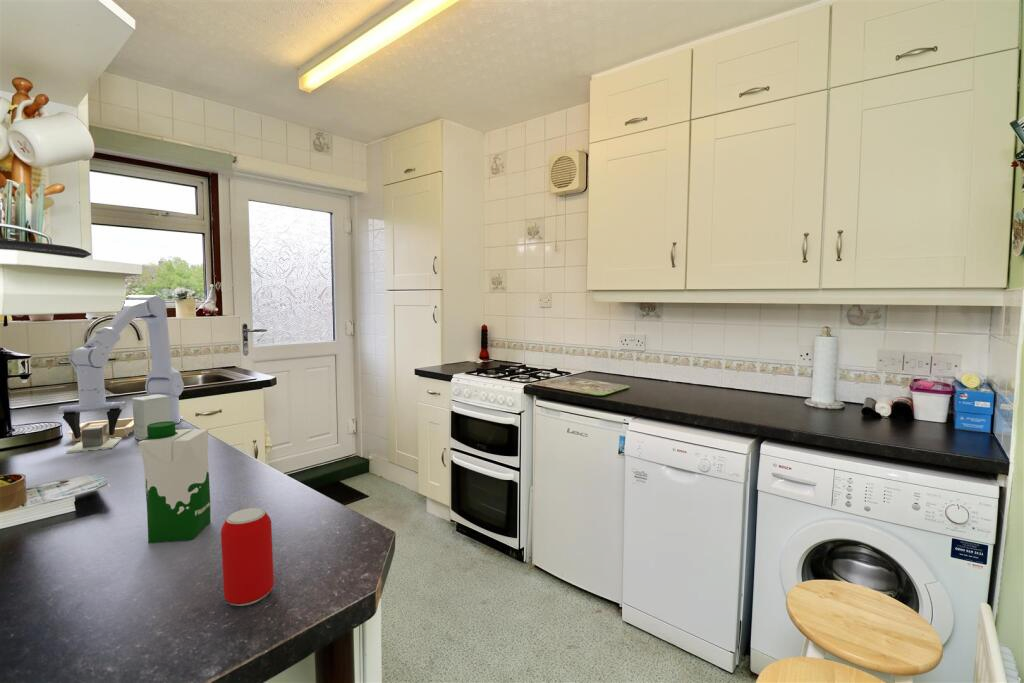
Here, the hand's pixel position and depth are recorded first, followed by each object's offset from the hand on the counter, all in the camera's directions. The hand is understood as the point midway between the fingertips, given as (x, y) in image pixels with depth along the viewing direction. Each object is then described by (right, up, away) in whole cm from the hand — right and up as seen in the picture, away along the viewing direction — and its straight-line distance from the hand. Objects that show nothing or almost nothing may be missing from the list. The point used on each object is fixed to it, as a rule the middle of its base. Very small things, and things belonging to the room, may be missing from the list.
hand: (95, 436), depth 139 cm
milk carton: (+60, -8, -52) cm, 79 cm away
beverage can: (+82, -9, -71) cm, 109 cm away
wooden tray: (-7, -2, +12) cm, 14 cm away
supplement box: (+10, -2, +9) cm, 14 cm away
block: (0, -2, +1) cm, 2 cm away
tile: (0, -3, 0) cm, 3 cm away
